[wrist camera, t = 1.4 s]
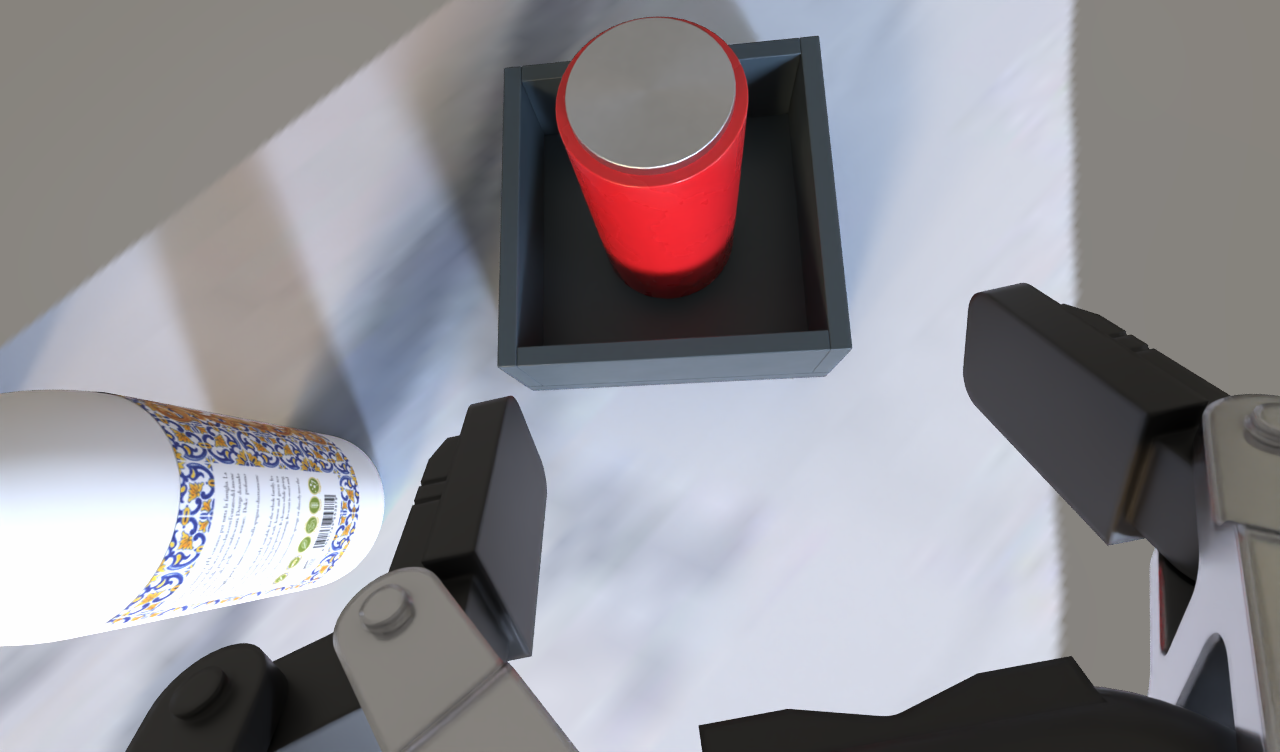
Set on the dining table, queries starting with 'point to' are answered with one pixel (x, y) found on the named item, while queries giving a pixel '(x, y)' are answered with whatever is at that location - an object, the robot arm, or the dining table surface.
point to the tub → (710, 318)
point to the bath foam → (165, 512)
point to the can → (658, 149)
